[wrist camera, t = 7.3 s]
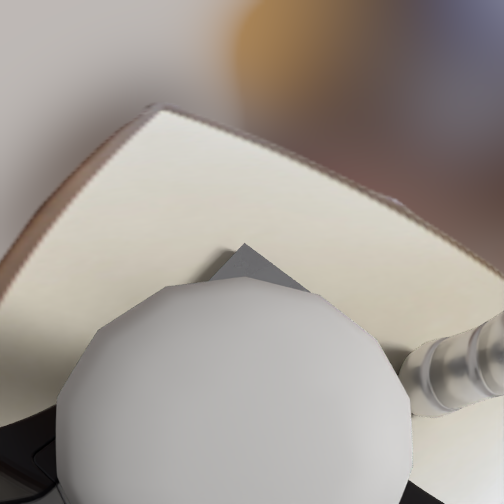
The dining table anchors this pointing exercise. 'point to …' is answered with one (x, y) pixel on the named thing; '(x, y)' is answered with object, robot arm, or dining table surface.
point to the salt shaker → (233, 404)
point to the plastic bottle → (456, 370)
